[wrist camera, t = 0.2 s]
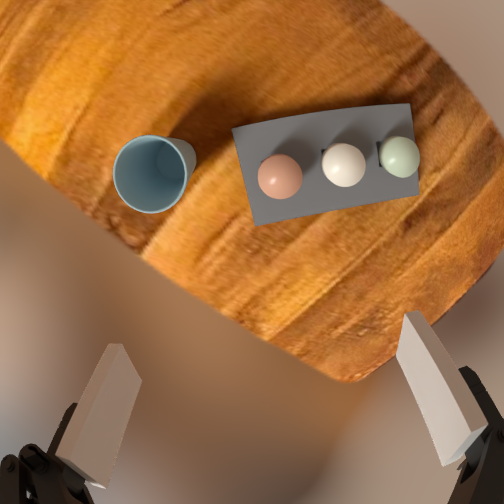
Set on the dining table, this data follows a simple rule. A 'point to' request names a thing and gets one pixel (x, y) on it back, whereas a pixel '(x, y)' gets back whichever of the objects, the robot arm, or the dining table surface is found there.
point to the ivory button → (343, 164)
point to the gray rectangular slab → (310, 153)
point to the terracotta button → (279, 176)
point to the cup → (153, 172)
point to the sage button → (399, 156)
